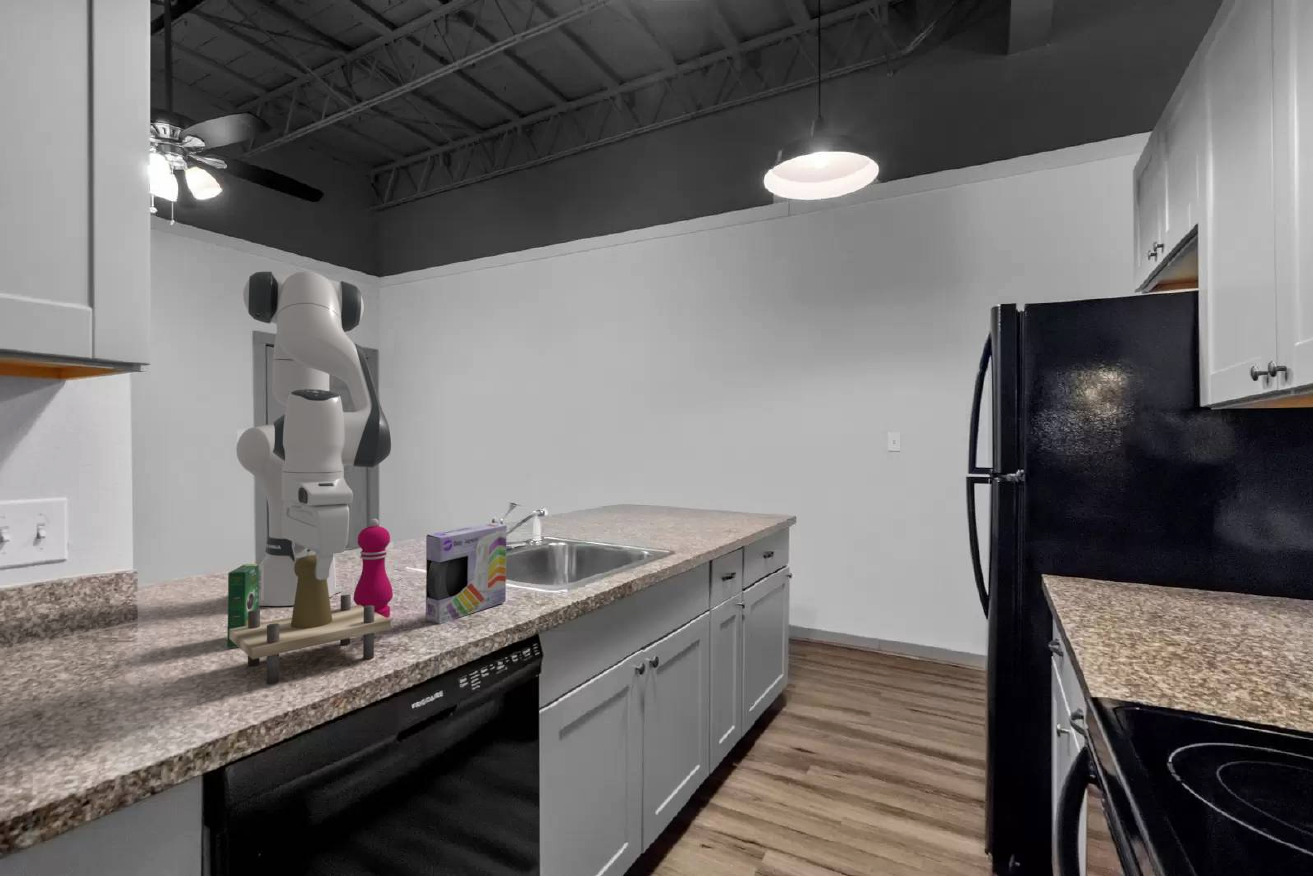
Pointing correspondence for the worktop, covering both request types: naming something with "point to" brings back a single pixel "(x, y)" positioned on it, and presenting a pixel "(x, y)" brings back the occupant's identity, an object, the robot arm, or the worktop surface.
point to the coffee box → (242, 596)
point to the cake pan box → (465, 571)
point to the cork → (310, 596)
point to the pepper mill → (374, 570)
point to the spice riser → (306, 634)
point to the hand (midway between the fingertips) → (311, 573)
